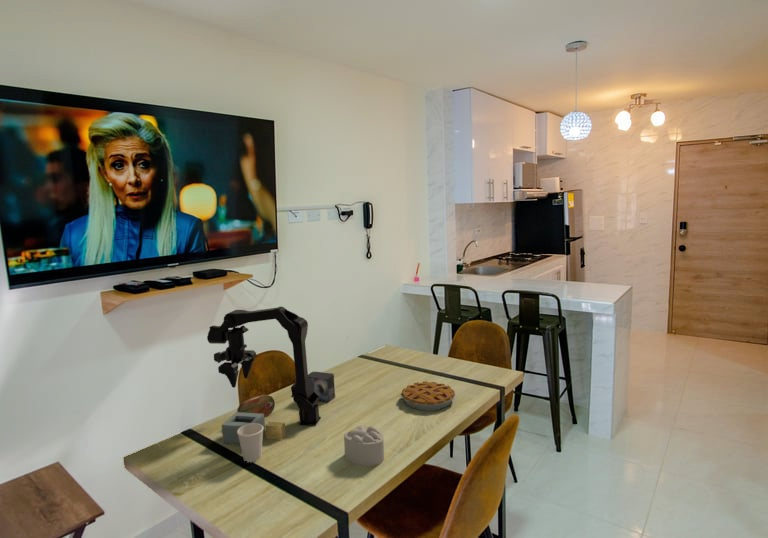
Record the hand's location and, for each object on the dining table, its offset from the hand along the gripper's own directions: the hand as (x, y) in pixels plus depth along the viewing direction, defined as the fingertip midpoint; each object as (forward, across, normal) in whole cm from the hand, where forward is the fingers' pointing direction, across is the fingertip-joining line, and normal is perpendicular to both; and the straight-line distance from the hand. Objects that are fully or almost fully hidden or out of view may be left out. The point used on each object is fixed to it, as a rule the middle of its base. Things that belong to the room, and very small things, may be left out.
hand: (240, 382), depth 182 cm
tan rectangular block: (+15, +12, +19) cm, 27 cm away
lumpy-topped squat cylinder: (+15, +20, +54) cm, 60 cm away
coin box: (+14, +14, +8) cm, 22 cm away
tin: (+15, 0, +6) cm, 16 cm away
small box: (+15, -22, +24) cm, 36 cm away
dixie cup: (+15, +26, +18) cm, 35 cm away
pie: (+15, -25, +69) cm, 75 cm away
